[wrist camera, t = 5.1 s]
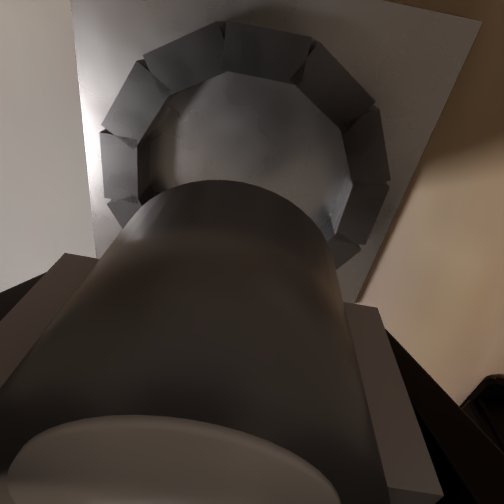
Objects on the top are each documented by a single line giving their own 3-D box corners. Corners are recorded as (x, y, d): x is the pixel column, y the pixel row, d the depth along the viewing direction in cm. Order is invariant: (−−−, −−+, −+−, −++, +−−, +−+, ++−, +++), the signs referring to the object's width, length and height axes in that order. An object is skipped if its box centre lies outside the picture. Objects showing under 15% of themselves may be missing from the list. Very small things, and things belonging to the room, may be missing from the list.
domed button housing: (394, 210, 8) (551, 455, 3) (322, 370, 11) (352, 606, 6) (83, 152, 7) (-203, 335, 3) (101, 334, 10) (-25, 553, 6)
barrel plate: (468, 21, 12) (509, 20, 10) (344, 305, 20) (353, 339, 18) (78, -62, 12) (33, -82, 10) (105, 264, 19) (84, 293, 17)
